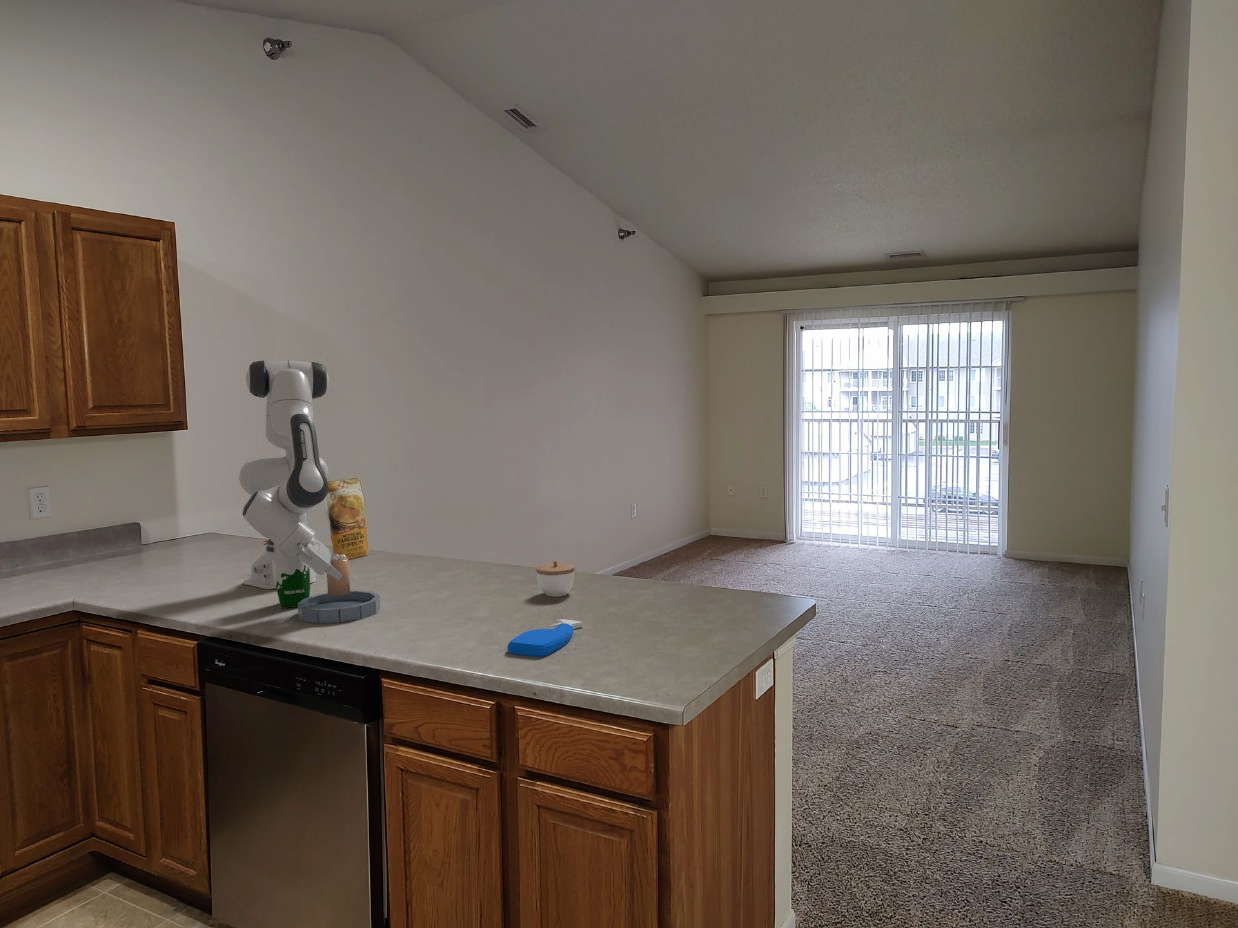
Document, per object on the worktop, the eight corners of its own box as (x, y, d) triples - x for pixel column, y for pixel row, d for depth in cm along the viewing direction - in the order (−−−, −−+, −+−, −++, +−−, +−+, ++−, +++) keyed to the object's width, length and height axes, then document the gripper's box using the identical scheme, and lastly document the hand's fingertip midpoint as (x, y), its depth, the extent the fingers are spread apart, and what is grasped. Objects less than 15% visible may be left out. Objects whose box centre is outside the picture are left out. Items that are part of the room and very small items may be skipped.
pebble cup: (323, 594, 220) (320, 555, 219) (339, 590, 225) (336, 551, 224) (339, 596, 218) (336, 557, 217) (354, 591, 223) (352, 553, 222)
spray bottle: (546, 646, 180) (592, 618, 203) (502, 641, 184) (552, 614, 207) (546, 659, 180) (593, 630, 203) (502, 654, 184) (552, 626, 207)
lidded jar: (551, 588, 243) (550, 556, 242) (582, 591, 238) (581, 559, 237) (529, 596, 234) (528, 563, 233) (561, 600, 229) (560, 566, 228)
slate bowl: (282, 618, 218) (281, 605, 217) (339, 600, 235) (339, 588, 235) (339, 626, 209) (339, 612, 208) (394, 606, 226) (394, 594, 226)
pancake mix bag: (320, 562, 290) (315, 482, 287) (363, 552, 306) (359, 476, 304) (333, 564, 286) (328, 482, 284) (376, 553, 303) (372, 476, 300)
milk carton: (308, 598, 238) (304, 529, 236) (313, 605, 230) (308, 533, 228) (275, 603, 234) (271, 532, 232) (279, 610, 226) (274, 537, 224)
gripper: (305, 538, 208) (349, 573, 212) (308, 526, 227) (348, 558, 231) (287, 557, 207) (331, 592, 211) (292, 544, 226) (332, 576, 230)
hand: (340, 574), depth 221 cm, fingers closed on pebble cup, 6 cm apart
